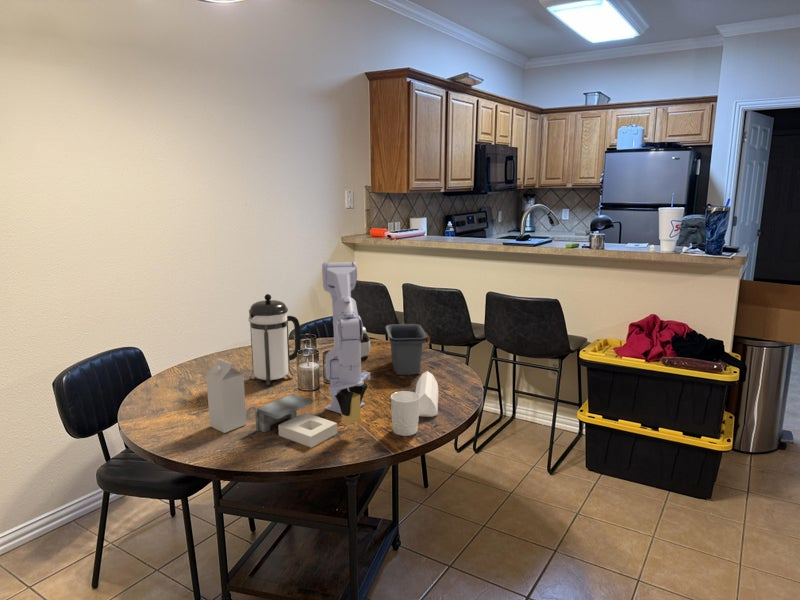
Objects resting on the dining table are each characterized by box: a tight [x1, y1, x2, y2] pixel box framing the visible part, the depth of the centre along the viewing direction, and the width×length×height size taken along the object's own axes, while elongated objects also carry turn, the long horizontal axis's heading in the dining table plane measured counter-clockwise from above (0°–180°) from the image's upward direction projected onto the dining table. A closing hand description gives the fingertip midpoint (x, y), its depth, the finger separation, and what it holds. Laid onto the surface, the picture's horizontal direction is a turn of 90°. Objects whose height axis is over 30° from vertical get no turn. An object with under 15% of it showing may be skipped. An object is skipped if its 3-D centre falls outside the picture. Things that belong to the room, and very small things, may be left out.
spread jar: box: [359, 326, 371, 360], centre depth 209 cm, size 12×11×12 cm
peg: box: [341, 392, 361, 425], centre depth 143 cm, size 4×4×7 cm
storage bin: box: [385, 323, 431, 376], centre depth 198 cm, size 21×16×14 cm
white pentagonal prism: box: [414, 370, 439, 417], centre depth 166 cm, size 7×7×24 cm
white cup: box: [390, 390, 420, 437], centre depth 147 cm, size 8×8×10 cm
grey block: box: [254, 393, 313, 433], centre depth 150 cm, size 13×9×7 cm
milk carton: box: [205, 357, 247, 434], centre depth 148 cm, size 7×7×19 cm
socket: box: [278, 412, 338, 448], centre depth 145 cm, size 10×12×3 cm
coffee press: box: [248, 293, 302, 387], centre depth 185 cm, size 17×16×30 cm
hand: (350, 412), depth 143 cm, fingers closed on peg, 3 cm apart
